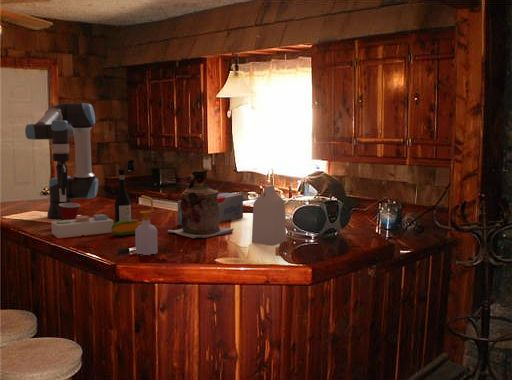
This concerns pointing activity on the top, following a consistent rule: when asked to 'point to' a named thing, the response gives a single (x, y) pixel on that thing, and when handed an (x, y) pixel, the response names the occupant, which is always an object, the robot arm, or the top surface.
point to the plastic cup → (69, 210)
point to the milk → (269, 218)
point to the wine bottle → (122, 201)
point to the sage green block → (63, 222)
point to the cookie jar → (200, 209)
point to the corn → (125, 227)
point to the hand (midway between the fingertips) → (63, 201)
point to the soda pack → (224, 207)
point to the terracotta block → (82, 218)
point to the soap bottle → (146, 234)
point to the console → (81, 228)
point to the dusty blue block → (100, 217)
